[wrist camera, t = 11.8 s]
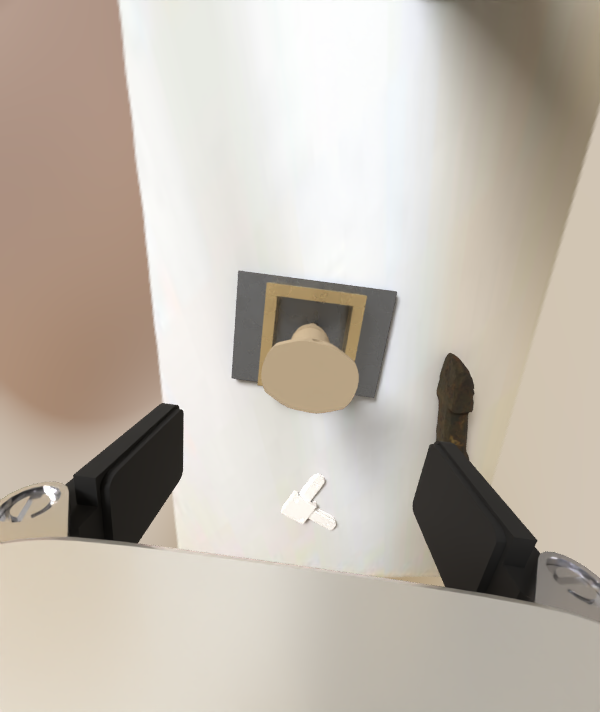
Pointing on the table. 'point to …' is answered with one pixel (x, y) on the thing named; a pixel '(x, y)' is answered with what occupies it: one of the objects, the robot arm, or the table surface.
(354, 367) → the handle
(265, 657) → the robot arm
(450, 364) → the dark brown carved statuette
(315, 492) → the corner connector
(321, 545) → the table surface
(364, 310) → the collar base
